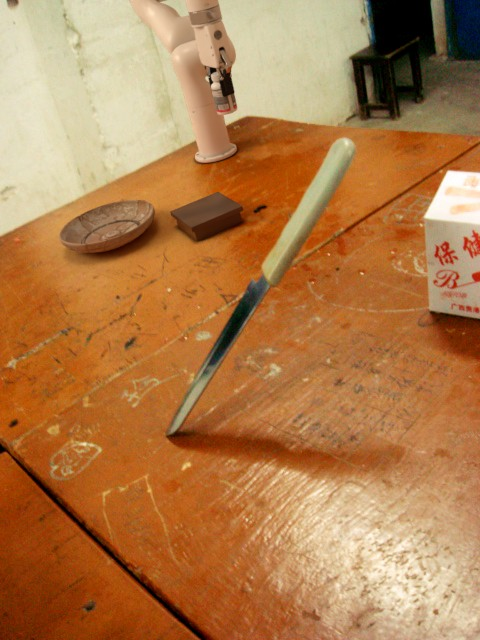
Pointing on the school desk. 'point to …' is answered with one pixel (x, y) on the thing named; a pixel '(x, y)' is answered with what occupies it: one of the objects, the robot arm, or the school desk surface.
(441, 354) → the school desk surface
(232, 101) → the pill bottle
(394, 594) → the school desk surface
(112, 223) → the ceramic bowl
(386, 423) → the school desk surface
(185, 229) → the platform
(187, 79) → the robot arm
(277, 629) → the school desk surface
